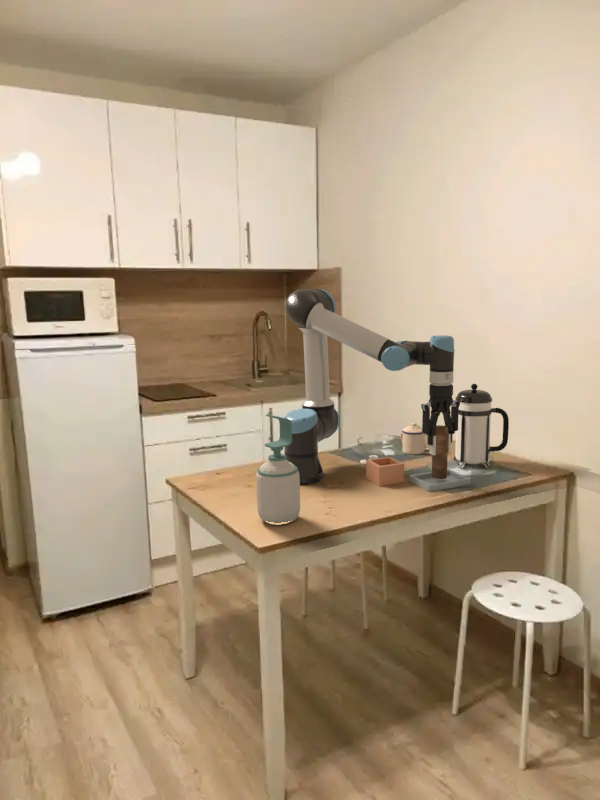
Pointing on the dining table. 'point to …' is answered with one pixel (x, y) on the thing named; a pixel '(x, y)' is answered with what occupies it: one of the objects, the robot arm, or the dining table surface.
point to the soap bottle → (278, 481)
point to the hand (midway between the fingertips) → (439, 453)
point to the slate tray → (439, 481)
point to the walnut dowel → (440, 453)
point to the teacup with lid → (413, 439)
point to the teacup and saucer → (369, 458)
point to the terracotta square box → (385, 471)
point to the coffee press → (476, 426)
